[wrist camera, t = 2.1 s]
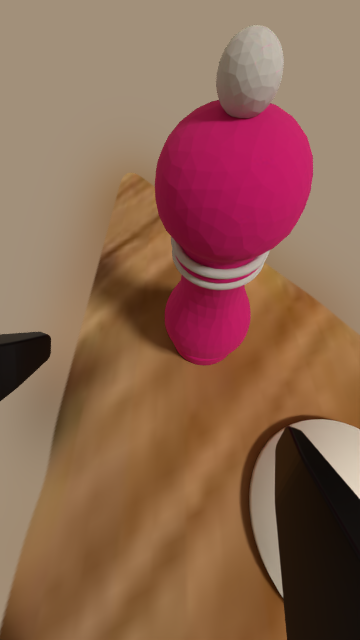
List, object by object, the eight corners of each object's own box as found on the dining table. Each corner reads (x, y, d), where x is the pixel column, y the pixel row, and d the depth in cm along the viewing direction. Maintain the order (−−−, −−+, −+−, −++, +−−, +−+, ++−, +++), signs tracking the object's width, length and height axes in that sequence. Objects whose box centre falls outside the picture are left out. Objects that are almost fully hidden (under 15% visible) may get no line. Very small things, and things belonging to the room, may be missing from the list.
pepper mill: (185, 297, 26) (182, -18, 8) (247, 320, 24) (424, -2, 6) (156, 353, 23) (44, 62, 5) (224, 383, 21) (428, 126, 3)
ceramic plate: (476, 659, 14) (492, 671, 13) (258, 639, 14) (262, 650, 14) (395, 423, 19) (403, 423, 19) (242, 416, 20) (244, 415, 19)
